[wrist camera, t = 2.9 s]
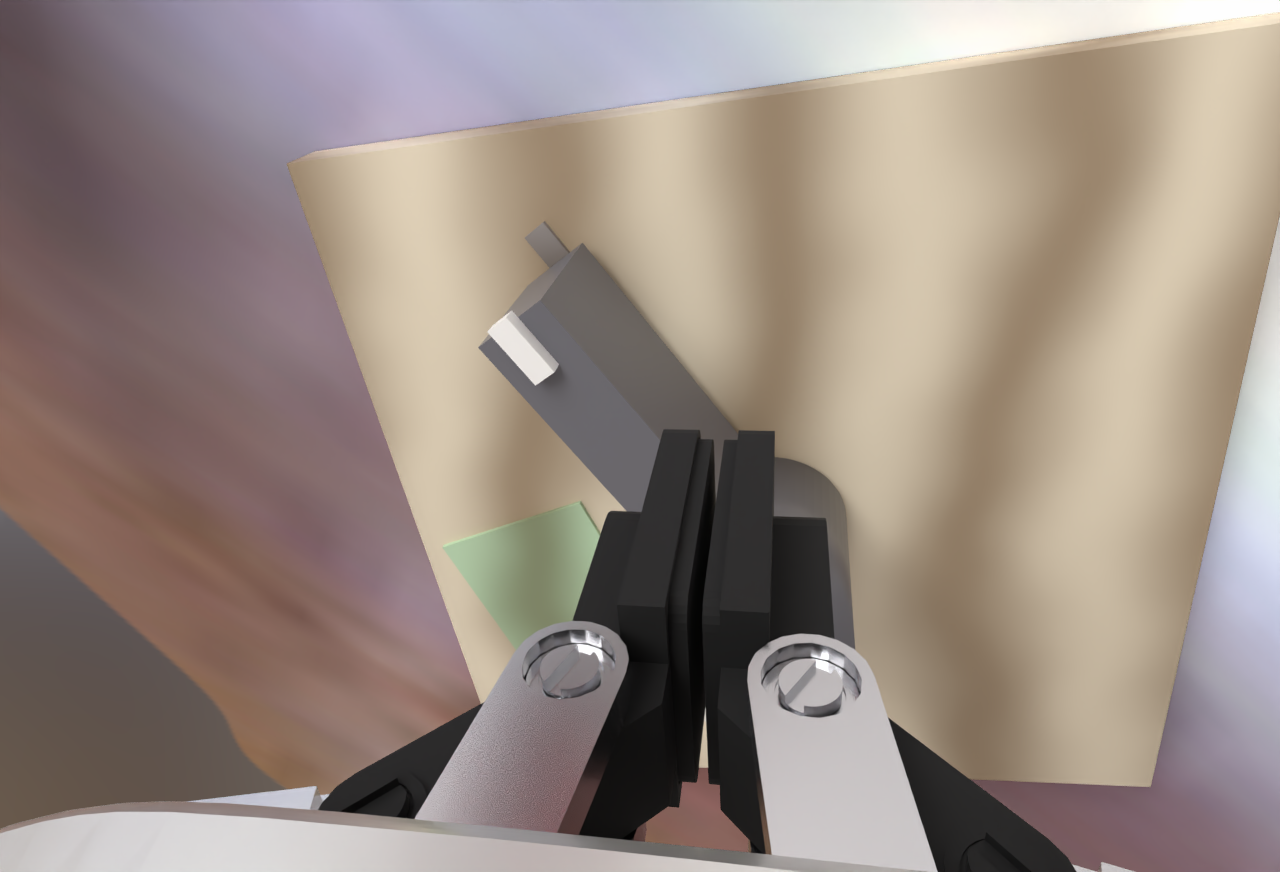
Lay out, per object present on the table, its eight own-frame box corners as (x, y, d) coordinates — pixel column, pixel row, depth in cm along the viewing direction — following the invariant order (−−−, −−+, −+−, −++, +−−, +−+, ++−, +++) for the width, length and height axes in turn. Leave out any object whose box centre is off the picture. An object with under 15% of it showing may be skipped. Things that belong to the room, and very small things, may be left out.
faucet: (885, 550, 25) (914, 781, 18) (764, 605, 27) (750, 832, 20) (614, 205, 21) (521, 335, 14) (496, 299, 23) (363, 453, 16)
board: (1287, 11, 18) (1328, 17, 16) (1135, 750, 30) (1152, 791, 28) (314, 151, 23) (283, 165, 22) (511, 729, 35) (499, 761, 34)
